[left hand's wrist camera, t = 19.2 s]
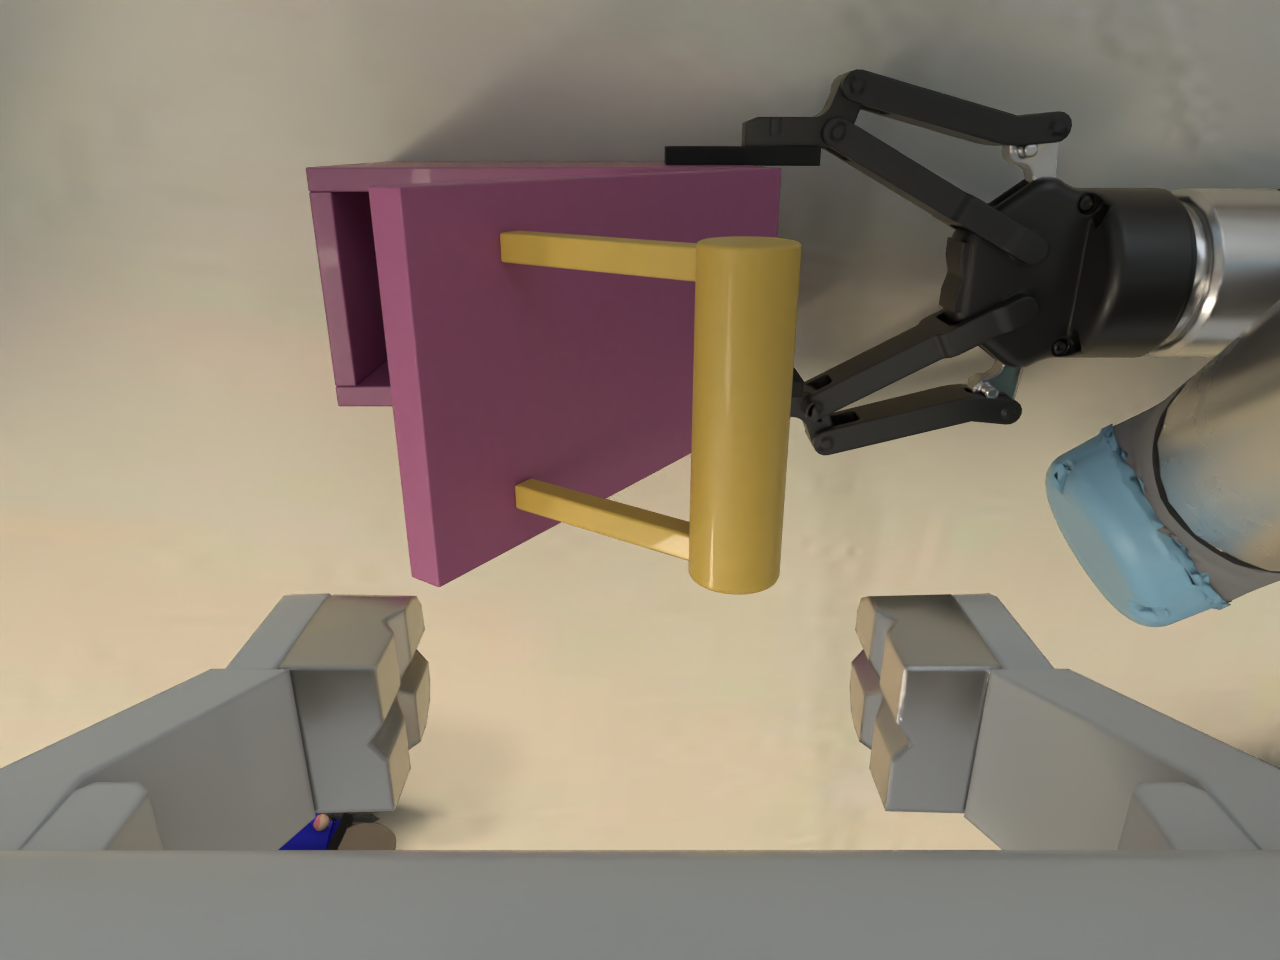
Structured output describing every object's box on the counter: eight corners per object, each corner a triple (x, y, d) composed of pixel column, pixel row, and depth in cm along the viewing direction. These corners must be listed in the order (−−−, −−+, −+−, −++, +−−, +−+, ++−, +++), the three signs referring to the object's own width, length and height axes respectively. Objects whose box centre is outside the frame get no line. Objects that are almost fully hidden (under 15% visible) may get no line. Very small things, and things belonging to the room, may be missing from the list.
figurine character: (408, 781, 59) (176, 770, 56) (391, 869, 52) (125, 861, 49) (403, 854, 61) (180, 847, 59) (385, 947, 54) (132, 944, 52)
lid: (411, 576, 22) (700, 692, 17) (367, 185, 18) (715, 199, 14) (745, 408, 35) (954, 447, 31) (756, 167, 32) (994, 171, 27)
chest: (406, 346, 46) (337, 406, 36) (387, 161, 43) (304, 167, 32) (728, 346, 46) (754, 406, 36) (735, 161, 43) (766, 167, 32)
